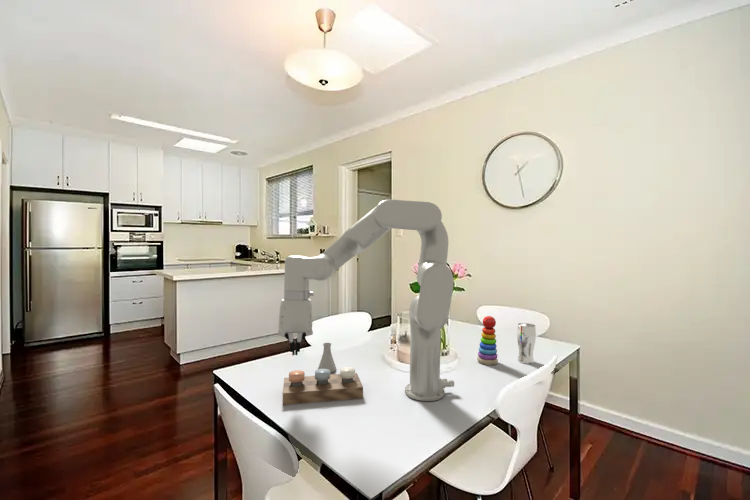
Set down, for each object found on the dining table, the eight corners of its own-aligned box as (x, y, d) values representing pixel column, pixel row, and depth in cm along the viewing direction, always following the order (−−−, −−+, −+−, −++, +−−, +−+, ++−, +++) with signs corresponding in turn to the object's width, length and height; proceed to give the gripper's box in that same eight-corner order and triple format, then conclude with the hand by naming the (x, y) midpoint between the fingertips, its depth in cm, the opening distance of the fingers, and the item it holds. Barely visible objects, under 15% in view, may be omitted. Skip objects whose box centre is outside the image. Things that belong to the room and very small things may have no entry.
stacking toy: (477, 364, 142) (478, 317, 141) (476, 358, 150) (477, 313, 149) (498, 366, 140) (499, 318, 140) (496, 359, 148) (497, 314, 147)
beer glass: (516, 362, 144) (517, 325, 144) (516, 357, 151) (517, 322, 150) (535, 365, 142) (536, 327, 141) (534, 359, 148) (535, 323, 148)
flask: (333, 374, 130) (333, 347, 130) (314, 372, 132) (314, 345, 131) (339, 367, 137) (339, 341, 137) (321, 366, 139) (321, 340, 138)
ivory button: (353, 383, 119) (353, 366, 119) (356, 389, 114) (356, 371, 114) (339, 384, 118) (339, 367, 118) (340, 390, 113) (341, 372, 113)
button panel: (356, 382, 123) (356, 372, 123) (362, 398, 111) (363, 387, 111) (284, 388, 118) (284, 377, 118) (282, 405, 106) (282, 393, 106)
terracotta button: (304, 386, 115) (304, 369, 115) (304, 393, 111) (304, 375, 111) (288, 387, 114) (289, 370, 114) (288, 394, 110) (288, 376, 110)
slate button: (329, 384, 117) (329, 368, 117) (330, 391, 112) (330, 373, 112) (314, 386, 116) (314, 369, 116) (315, 392, 111) (315, 374, 111)
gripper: (320, 293, 117) (318, 349, 117) (272, 293, 114) (270, 351, 114) (321, 297, 110) (319, 357, 110) (270, 297, 106) (269, 358, 107)
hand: (294, 353), depth 112 cm, fingers closed
